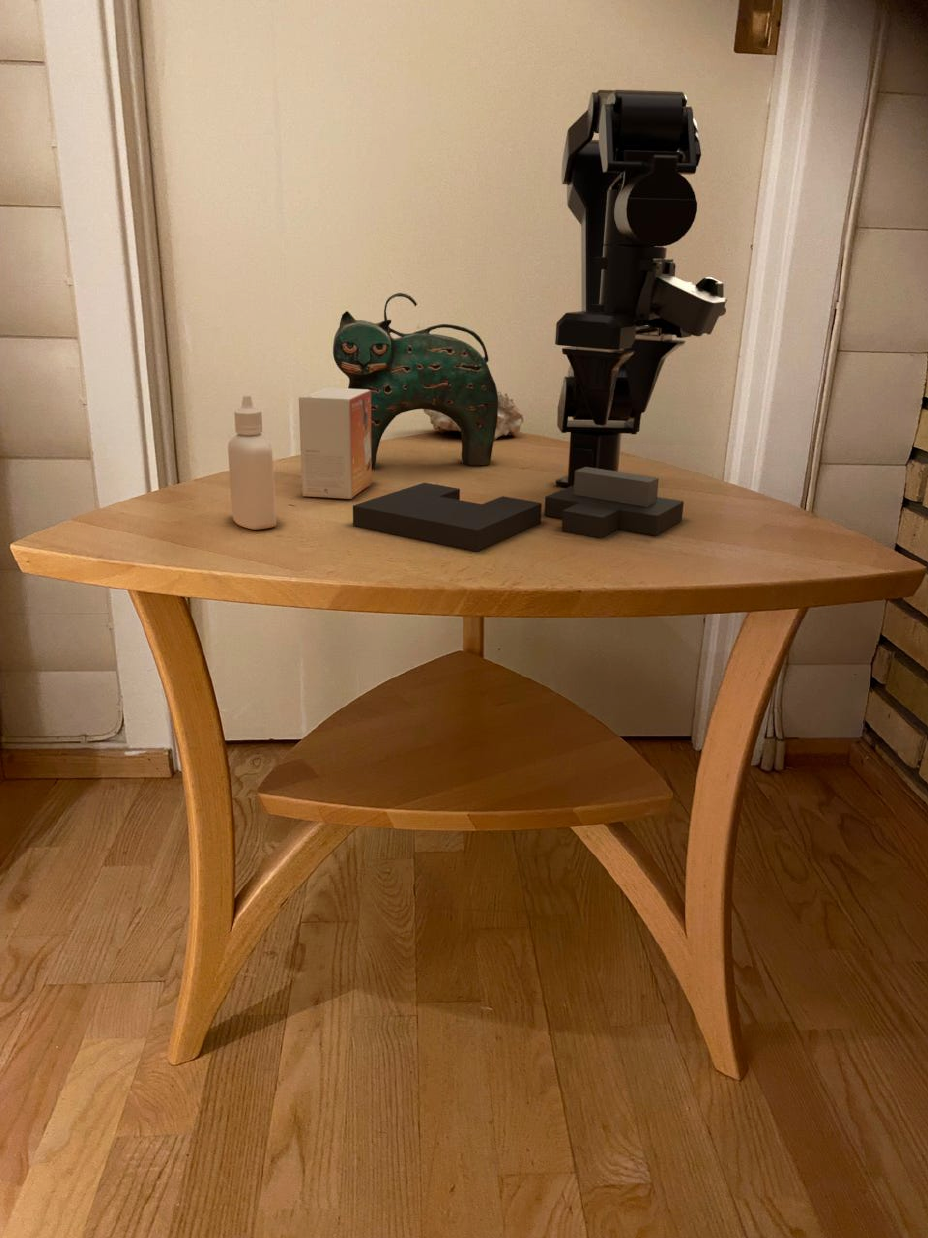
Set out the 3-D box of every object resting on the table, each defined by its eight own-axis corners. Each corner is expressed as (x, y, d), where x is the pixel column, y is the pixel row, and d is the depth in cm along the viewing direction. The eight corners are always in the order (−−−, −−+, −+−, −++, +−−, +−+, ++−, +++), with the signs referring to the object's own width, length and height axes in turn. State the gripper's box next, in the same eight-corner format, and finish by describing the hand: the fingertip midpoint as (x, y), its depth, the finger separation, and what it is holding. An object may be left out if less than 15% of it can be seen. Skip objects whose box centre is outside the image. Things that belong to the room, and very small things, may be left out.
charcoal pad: (424, 500, 101) (424, 482, 101) (541, 522, 94) (542, 502, 94) (352, 525, 92) (352, 505, 91) (476, 551, 85) (477, 530, 84)
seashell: (420, 421, 130) (431, 353, 132) (413, 445, 139) (424, 381, 141) (523, 442, 132) (534, 374, 133) (510, 464, 141) (520, 401, 143)
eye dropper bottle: (279, 515, 95) (273, 391, 90) (275, 531, 90) (268, 400, 85) (234, 515, 94) (226, 391, 90) (227, 531, 89) (218, 400, 85)
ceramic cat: (337, 472, 113) (333, 292, 105) (331, 460, 118) (326, 289, 111) (500, 467, 117) (506, 295, 110) (486, 456, 123) (492, 292, 116)
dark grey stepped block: (574, 501, 102) (577, 460, 101) (682, 520, 97) (686, 476, 95) (525, 523, 94) (527, 478, 92) (640, 545, 88) (644, 497, 86)
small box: (351, 501, 101) (349, 399, 97) (300, 497, 102) (297, 396, 98) (373, 483, 108) (372, 388, 104) (326, 480, 109) (323, 385, 105)
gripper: (682, 247, 76) (662, 443, 82) (753, 249, 91) (732, 415, 97) (557, 244, 82) (547, 428, 87) (643, 246, 96) (629, 403, 102)
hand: (620, 418), depth 93 cm, fingers open, 9 cm apart
